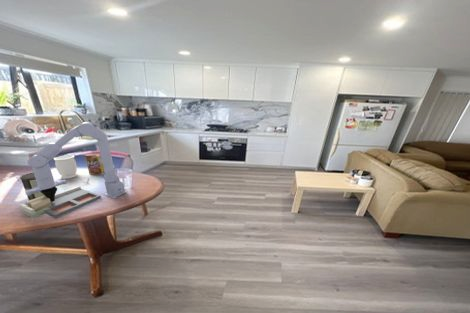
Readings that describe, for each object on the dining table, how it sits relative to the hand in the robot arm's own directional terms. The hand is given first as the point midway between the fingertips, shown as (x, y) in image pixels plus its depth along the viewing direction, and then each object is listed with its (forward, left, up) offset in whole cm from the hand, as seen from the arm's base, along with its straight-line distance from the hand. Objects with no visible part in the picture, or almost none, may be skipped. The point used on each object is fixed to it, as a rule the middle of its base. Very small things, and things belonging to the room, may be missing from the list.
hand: (52, 201), depth 88 cm
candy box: (+25, -36, -3) cm, 44 cm away
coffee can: (+16, -2, -3) cm, 16 cm away
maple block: (0, +5, -1) cm, 5 cm away
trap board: (-5, -3, -3) cm, 7 cm away
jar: (+36, -24, -3) cm, 43 cm away
